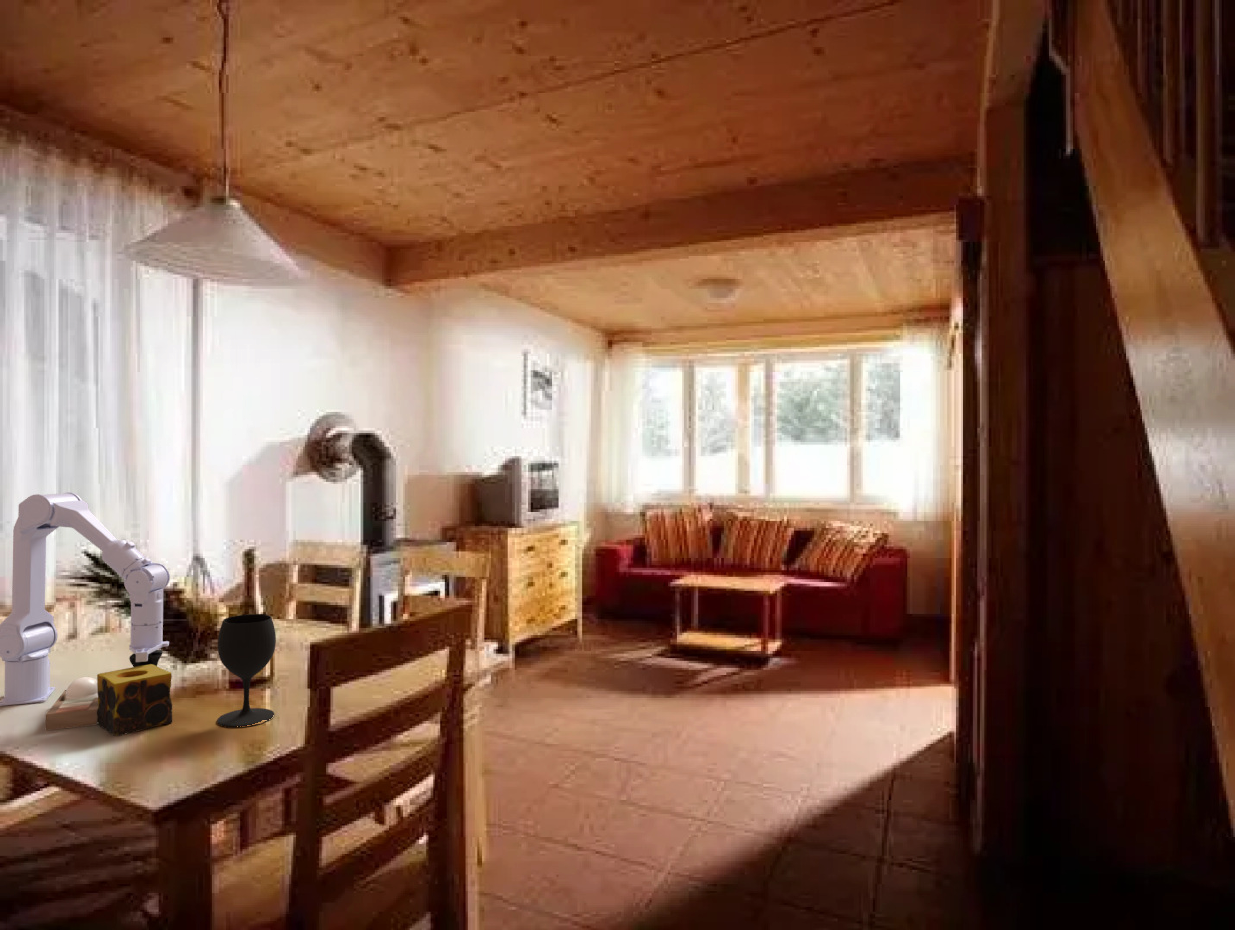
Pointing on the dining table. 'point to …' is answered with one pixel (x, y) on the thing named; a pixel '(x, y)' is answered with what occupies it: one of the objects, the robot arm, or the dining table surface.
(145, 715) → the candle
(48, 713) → the brown shallow box
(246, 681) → the wine glass
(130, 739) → the dining table surface
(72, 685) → the dome button
